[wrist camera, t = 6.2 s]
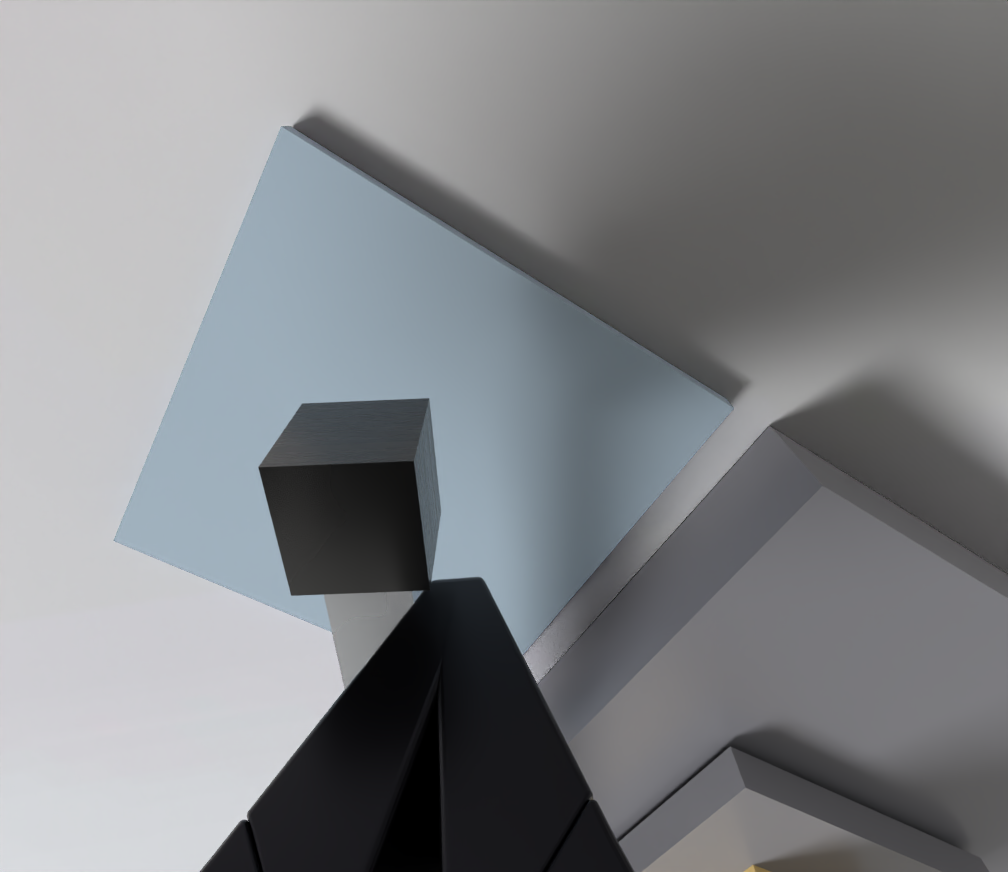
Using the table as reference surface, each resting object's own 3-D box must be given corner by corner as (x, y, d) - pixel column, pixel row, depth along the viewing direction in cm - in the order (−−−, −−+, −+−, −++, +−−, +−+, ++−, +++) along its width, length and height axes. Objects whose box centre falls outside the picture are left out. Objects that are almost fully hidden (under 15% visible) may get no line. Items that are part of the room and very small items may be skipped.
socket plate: (686, 992, 20) (704, 1076, 19) (353, 889, 17) (337, 977, 16) (1170, 676, 14) (1269, 758, 12) (769, 425, 11) (822, 485, 9)
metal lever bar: (500, 1020, 16) (501, 1148, 14) (439, 1022, 16) (431, 1150, 14) (439, 374, 8) (419, 461, 6) (314, 379, 8) (252, 467, 6)
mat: (487, 681, 14) (486, 696, 13) (124, 527, 12) (113, 540, 11) (726, 398, 11) (733, 408, 10) (290, 126, 9) (280, 126, 8)
